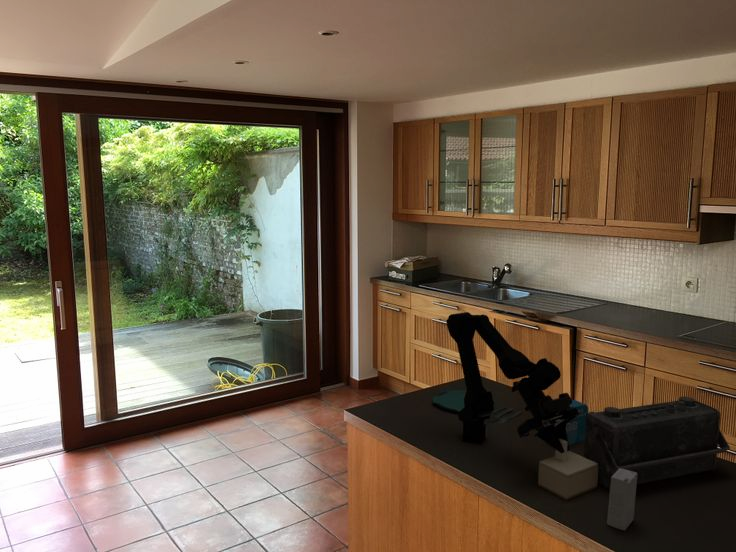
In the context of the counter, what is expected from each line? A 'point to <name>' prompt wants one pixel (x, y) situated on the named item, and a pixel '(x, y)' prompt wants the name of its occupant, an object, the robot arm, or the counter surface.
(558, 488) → the carton
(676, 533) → the counter surface
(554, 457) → the lid
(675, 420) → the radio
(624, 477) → the skincare box
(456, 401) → the cutlery set
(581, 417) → the data package
